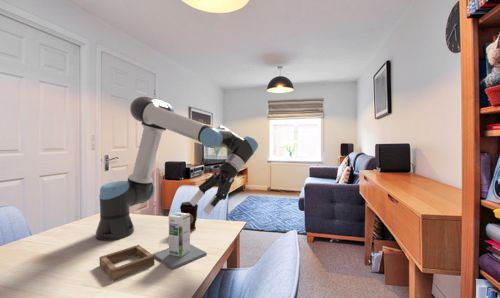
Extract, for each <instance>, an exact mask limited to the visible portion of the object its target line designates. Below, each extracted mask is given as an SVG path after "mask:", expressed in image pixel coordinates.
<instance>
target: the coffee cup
mask: <svg viewBox="0 0 500 298" xmlns="http://www.w3.org/2000/svg"><path fill="white" fill-rule="evenodd" d="M198 207H199V205H198V203H197V204H196V205H195V206H193V205H192V204H190V203H189V201H184V202H181V205H180V207H179V209H180V213H187V214H190V232H192V231H196V229H197V227H196V223H197V220H198V218H197V217H198V210H199V209H198Z"/></svg>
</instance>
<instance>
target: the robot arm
mask: <svg viewBox="0 0 500 298" xmlns="http://www.w3.org/2000/svg"><path fill="white" fill-rule="evenodd" d="M129 108H130V109H129V110H130V114H131V116H132V117H133V119H135V120H136V121H137V122H141V125H142V127H143V130H142V134H141V138H140V143H139V146H138V151H137V154H136V158H135V163H134V167H133V171H132V173H131V174H129V175H128V177H127V180H118V181H111V182H107V183H105V184H103V185H102V186H100V188H99V195H98V196H99V217H100V218H99V222H98V224H97V228H96V231H95V238H96V239H97V240H99V241H114V240H119V239H123V238H125V237H128V236H131V235H132V234H133V233H134V231H135V226H134V224H133V221H132V217H131V215H130V208H131V207H134V206H136V205H139V204H144V203H145V202H146V203H147V202H149V201H150V200H151V199H152V198H153V197H154V195H155V192H156V187H155V183H154V179H153V178H152V173H153V170H154V169H153V168H154V165H155V161H156V157H157V152H158V150H159V145H160V141H161V138H162V133H164V132H165V131H166V130H169V131H171V132H174V133H176V134H179V135H180V136H181V135H182V136H184V137H185V138H188V139H191V140H193V141H195V142H199V143H201V145H203V147H205V148H210V149H215V148H226V149H227V150H228V151H230V152H231V153H230V154H229V155H228V156H227V158H226V159H225V161H224V162H223V163H222V164H221V165H220V166H219V168H218V170H219V172H218V173H217V172H215V171H214V172H213V174H212V175H211V176H210V177H209V178H208V177H207V179H206V180H205V181H203V182H202V183H201V184H200V185H199V186H198V189H199V190H198V191H197V192H196V193H195V194H194V195H193V196H192V198H191V199H190V200H189V201H188V202H189V203H190V204H192V205H193V206H195V205H196V204H197V205H198V202H199V201H200V200H201V199H202V198H203V197H204V195H205V194H206V192H207V191H209V190H211V189H212V188H213V187H217V190H216V193H215V194H214V195H213V196H212V197H211V199H210V200H209V201H208V202H207V203H206V205H205V206H204V207H203V209H202V211H203V212H204V213H205V214H206V215H210V214H211V212H212V211H213V209H215V208H216V206H217V205H218V204H219V202H220V201H222V200H223V201H225V200H226V199H227V197H228V194H229V192H230V190H231V187H232V185H233V183H234V182H235V178H236V176H238V174H239V172H240V171H241V170H242V169H243V167H244V166H245V165H246V163H248V161H249V160H250V159H251V157H252V156H253V155H255V152H256V151H257V149H258V147H259V144H258V142H257V140H255V138H253V137H252V136H249V135H246V136H244V137H241V136H239V135H237V134H236V133H234V131H232V130H230V129H229V128H228V127H225V126H223V125H219V126H218V127H214V126H211V125H208V124H206V123H202V122H200V121H197V120H194V119H191V118H189V117H187V116H184V115H181V114H179V113H176V112H175V111H174V108H173V106H172V105H171V104H170V103H169V102H166V101H164V100H161V99H157V98H152V97H148V96H139V97H137V98H135V99H134V100H133V101H132V102H131V104H130V107H129Z"/></svg>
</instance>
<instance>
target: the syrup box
mask: <svg viewBox="0 0 500 298" xmlns="http://www.w3.org/2000/svg"><path fill="white" fill-rule="evenodd" d="M190 244H191V231H190V214H187V213H181V211H177V212H174V213H172V214H169V215H168V248H169V255H174V256H179V257H182V256H183V255H185V254H186V253H187V252H189V251H190Z"/></svg>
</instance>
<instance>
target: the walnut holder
mask: <svg viewBox="0 0 500 298" xmlns="http://www.w3.org/2000/svg"><path fill="white" fill-rule="evenodd" d="M132 257H138V259H136V260H134V261H130V262H128V263H125V264H122V265H119V266H116V265H115V263H118V262H120V261H123V260H126V259H129V258H132ZM154 265H155V257H154V255H153V253H152V252H150V251H148V250H147V249H145V248H144V247H143V246H141V245H140V244H137V245H133V246H130V247H128V248H127V247H126V248H124V249H121V250H117V251H114V252H111V253H107V254H105V255H101V256H99V266H100V268H101V269H102V271H104V273H105V274H106V275H107V276H108V277H109V279H111V280H112V281H116V280H118V279H121V278H125V277H126V276H128V275H129V276H130V275H131V274H134V273H136V272H139V271H141V270H145V269H146V268H149V267H152V266H154Z"/></svg>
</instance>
